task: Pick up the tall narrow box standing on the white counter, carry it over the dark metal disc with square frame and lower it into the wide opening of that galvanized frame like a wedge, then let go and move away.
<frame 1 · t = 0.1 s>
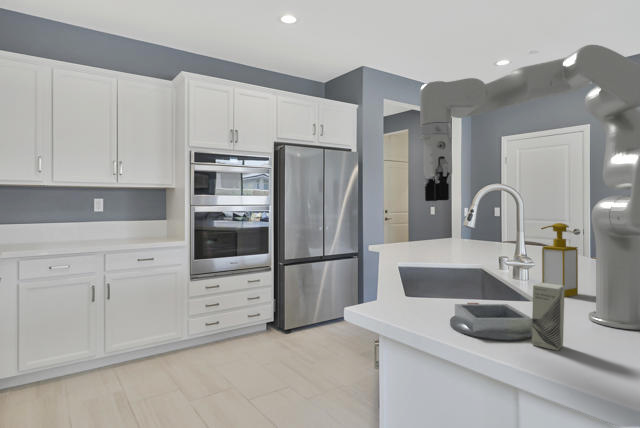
hand: (436, 200, 96), 31 cm above the counter, tool pointing down, fingers open, 9 cm apart
soap bottle: (554, 295, 125), on the counter
box: (548, 346, 80), on the counter
disc with square frame: (491, 327, 92), on the counter
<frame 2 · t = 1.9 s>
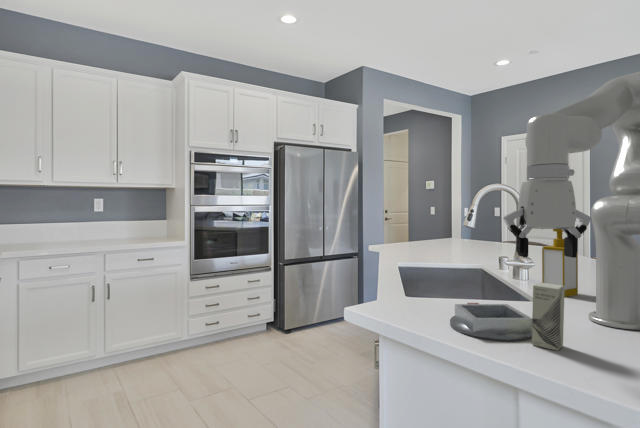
hand: (546, 256, 79), 19 cm above the counter, tool pointing down, fingers open, 9 cm apart
nothing on the counter moved.
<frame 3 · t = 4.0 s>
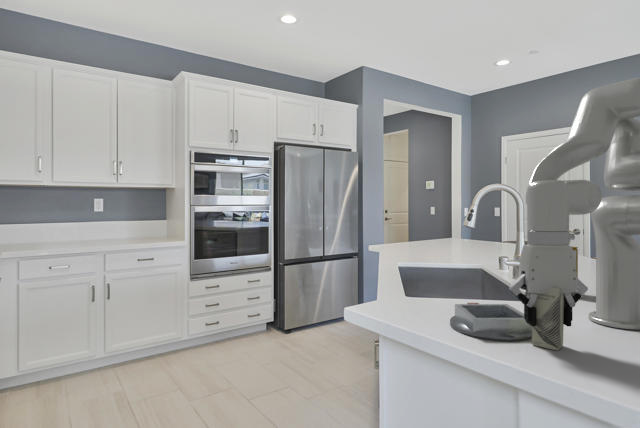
hand: (547, 323, 80), 5 cm above the counter, tool pointing down, fingers closed on box, 6 cm apart
box: (548, 346, 80), on the counter, touching gripper
everything else where it was.
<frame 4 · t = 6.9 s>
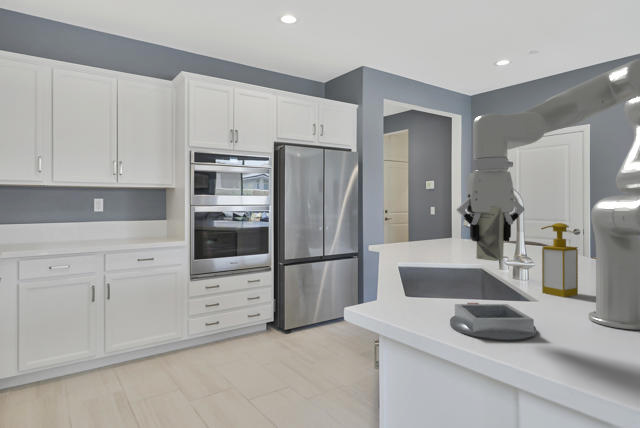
hand: (490, 240, 92), 21 cm above the counter, tool pointing down, fingers closed on box, 6 cm apart
box: (490, 260, 92), point 16 cm above the counter, touching gripper
everything else where it was.
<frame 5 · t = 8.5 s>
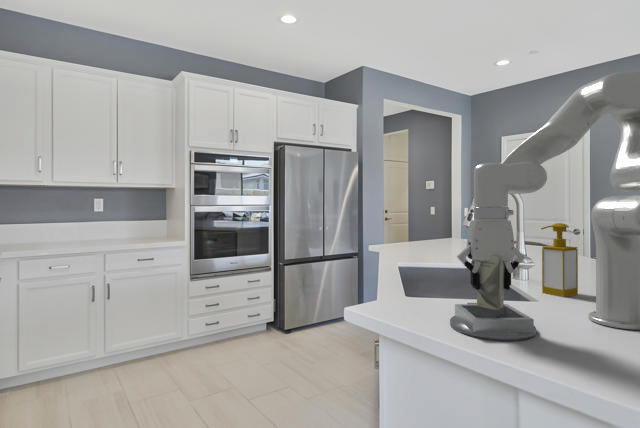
hand: (490, 287, 92), 10 cm above the counter, tool pointing down, fingers closed on box, 6 cm apart
box: (490, 307, 92), point 5 cm above the counter, touching gripper
everything else where it was.
when the fingers open (7 cm above the counter, at t = 9.9 s): box drops 1 cm, resting on disc with square frame.
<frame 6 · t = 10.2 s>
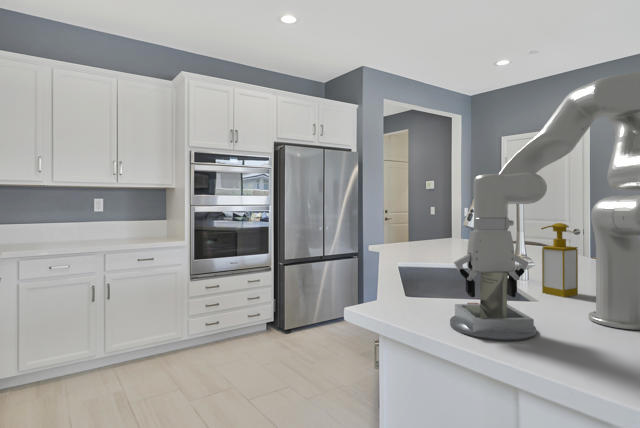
hand: (491, 295, 92), 8 cm above the counter, tool pointing down, fingers open, 9 cm apart
box: (493, 324, 92), point 1 cm above the counter, touching disc with square frame
everything else where it was.
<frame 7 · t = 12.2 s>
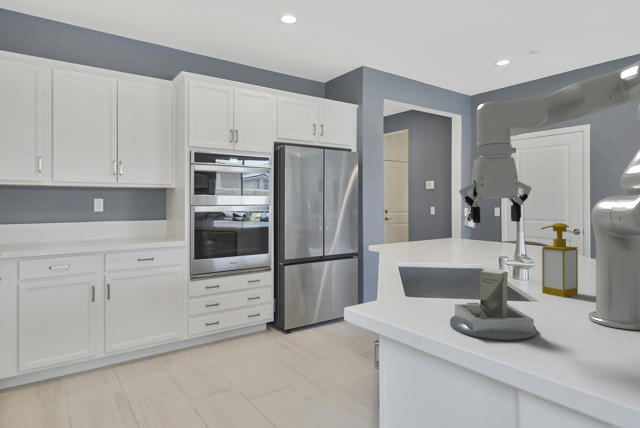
hand: (496, 222, 94), 26 cm above the counter, tool pointing down, fingers open, 9 cm apart
nothing on the counter moved.
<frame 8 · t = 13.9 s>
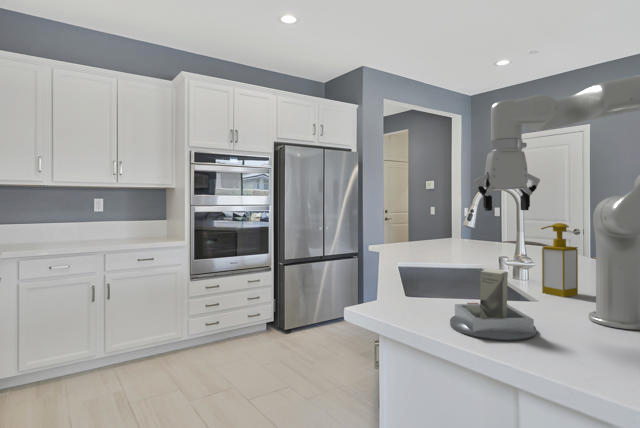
hand: (506, 210, 103), 28 cm above the counter, tool pointing down, fingers open, 9 cm apart
nothing on the counter moved.
at the end: box inside the target area on the disc with square frame (0.6 cm from its centre), point 0.8 cm above the disc with square frame's base; box tilted 0°; the gripper is holding nothing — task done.
